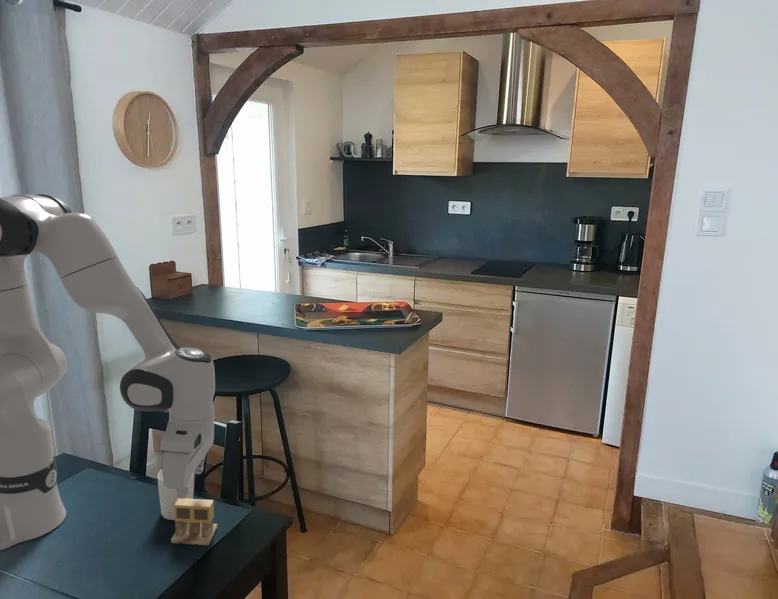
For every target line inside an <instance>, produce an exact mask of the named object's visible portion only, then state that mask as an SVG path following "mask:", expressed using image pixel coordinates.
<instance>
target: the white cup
mask: <svg viewBox="0 0 778 599" xmlns="http://www.w3.org/2000/svg"><path fill="white" fill-rule="evenodd" d="M156 477H157V486H158V487H157V488H158V496H159V504H160V513H161V517H162V518H163V519H165V520H170V521H171V520H172V521H175V514H174V505H175V503H176V502H177V500H178V499H179V498H177V491H176V489H170V488H166V487H165V485H164V483H163V468H162V469H161V470H159V471H158V472H157V476H156ZM194 482H195V474H194V473H193V474H192V475H191V477H190V478H189V480H188V481H187V484H186V487H188V494H187V496H186V497H185V498H187V499H194V493H195V492H194V488H195V483H194Z"/></svg>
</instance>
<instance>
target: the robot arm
mask: <svg viewBox="0 0 778 599" xmlns="http://www.w3.org/2000/svg"><path fill="white" fill-rule="evenodd" d="M33 252H34V253H39V254H40V255H43V256H45V257H46V258H47V260H49V262H50V263H51V264H52V266H53V268H54V271H55V272H56V274H57V275H58V278H59V280H60V281H61V283H62V285H63V287H64V289H65V292H67V294H68V296H69V297H70V299H72V301H73V302H74V303H75V305H77V306H78V307H79V308H81V309H83V310H86V311H88V312H92V313H97V314H106V315H110V316H113V317H116V318H117V319H120V320H121V321H122V322H124V324H125V325H126V326H127V328H128V329H129V331H130V333H131V334H132V335H133V337H134V338H135V341H136V342H137V344H138V345H139V346H140V348H141V349H142V351H143V353H144V359H143V360H142V361H141V362H139V363H137V364H135V365H134V366H133V367H132V368H130V369H129V370H128V371H127V372H126V373H124V375H123V376H122V377H121V379H120V382H119V391H120V395H121V397H122V399H123V401H124V402H125V404H127V406H129V407H130V408H132V409H134V410H135V411H139V412H161V411H167V410H168V411H169V412H168V413H169V414H168V415H169V416H168V417H169V418H168V421H167V426H166V430H165V431H164V434H163V436H162V438H161V440H160V450H161V451H164V452H163V455H162V465H161V466H162V469H163V483H164V485H165V487H166V488H170V489H176V491H177V498H180V499H184V498H185V497H186V496H187V494H188V487H186V484H187V481H188V480H189V478H190V477H191V475H192V474H193V473H194V475H201V474H202V472H203V471H204V463H205V460H206V455H207V454H208V451H209V450H210V449H211V448H212V446H213V444H214V440H215V406H214V403H213V400H214V396H215V393H216V375H215V374H216V373H215V364H214V361H213V358H212V356H211V355H210V353H208V352H206V351H205V350H202V349H200V348H196V347H180V346H179V345H178V344H177V343H176V341H175V340H174V339H173V338H172V337H171V334H169V332H168V330H167V329H166V327H165V325H164V324H163V323H162V321H161V319H160V318H159V316H158V314H157V312H156V311H155V310H154V308H153V306H152V305H151V303H150V302H149V301H148V299H147V297H146V296H145V295H144V293H143V292H142V291H141V290H140V289H139V287H137V285H136V284H135V283H134V282H133V280H132V278H131V277H130V276H129V273H127V271H126V268H125V267H124V265H123V264H122V262H121V260H120V258H119V255H118V254H117V252H116V250H115V249H114V247H113V245H112V244H111V242H110V240H109V239H108V237H107V236H106V234H105V233H104V231H103V230H102V228H101V227H100V226H99V225H98V222H96V221H95V220H94V218H93V217H92V216H90V215H88V214H86V213H82V212H73V211H72V209H71V208H70V206H69V205H68V204H67V203H66V202H64V201H63V200H62V199H60V198H57V197H55V196H52V195H48V194H42V193H41V194H40V193H38V194H26V193H25V194H11V195H8V196H3V197H2V196H1V197H0V551H3V550H5V549H9V548H11V547H12V546H13V547H14V546H15V545H17V544H20V543H23V542H26V541H30V540H31V541H32V540H34V539H36V538H39V537H42V536H44V535H45V534H47V533H48V534H49V533H50V532H52V531H53V530H54V529H56V528H57V527H59V526H60V525H61V524H62V523H63V522H64V520H65V519H66V517H67V510H66V508H65V506H64V504H63V501H62V498H61V496H60V492H59V488H58V485H57V484H58V483H57V482H58V468H57V461H56V456H55V455H54V448H53V437H52V429H51V425H50V424H49V423H48V421H46V420H44V419H42V418H39V417H38V416H37V414H36V411H35V407H34V404H35V400H36V398H39V397H40V396H42V394H44V393H46V392H48V391H49V390H51V389H52V388H53V387H55V386H56V384H57V383H58V382H59V381H60V380H61V379H62V378H63V376H65V374H66V372H67V369H68V359H67V357H66V356H67V355H65V353H64V351H63V350H62V349H61V348H60V347H58V346H57V345H55V344H54V343H52V342H50V340H48V338H47V337H46V336H45V334H44V333H43V331H42V328H41V327H40V326H39V324H38V323H39V322H38V320H37V318H36V315H35V311H34V306H33V302H32V298H31V294H30V290H29V289H30V288H29V284H28V279H27V275H26V272H25V259H26V257H27V256H28V255H30V254H31V253H33Z"/></svg>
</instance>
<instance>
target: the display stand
mask: <svg viewBox="0 0 778 599" xmlns="http://www.w3.org/2000/svg"><path fill="white" fill-rule="evenodd" d="M174 523H175V525H174V526H175V530H174V531H175V532H174V533H173V535H172V537H171V538H170V542H171V544H179V543H181V544H182V545H196V544H197V545H198V546H200V545H201V546H209V545H210V543H211V541H212V539H213V537H214V535H215V533H216V532H217V529H218V523H214V518H213V519H212V521H211V523H210V524H207V523H191V522H174ZM181 544H180V545H181Z"/></svg>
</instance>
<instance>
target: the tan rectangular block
mask: <svg viewBox="0 0 778 599" xmlns="http://www.w3.org/2000/svg"><path fill="white" fill-rule="evenodd" d="M214 507H215V501H214V499H201V498H193V499H187V498H184V499H180V498H179V499H178V500H177V502H176V503H175V505H174V514H175V520H174V523H176V522H191V523H207V524H210V523H211V521H212V519H213V520H214V517H215V512H214V510H215V508H214Z"/></svg>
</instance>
